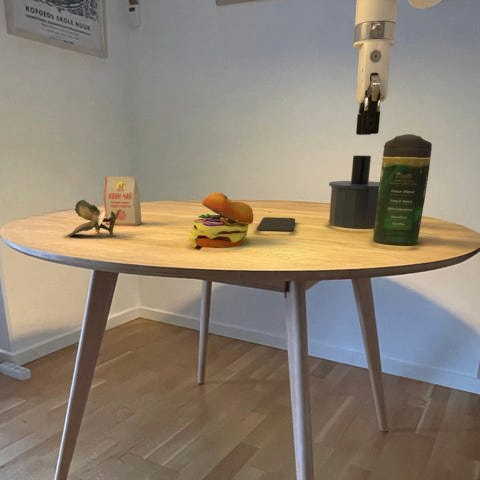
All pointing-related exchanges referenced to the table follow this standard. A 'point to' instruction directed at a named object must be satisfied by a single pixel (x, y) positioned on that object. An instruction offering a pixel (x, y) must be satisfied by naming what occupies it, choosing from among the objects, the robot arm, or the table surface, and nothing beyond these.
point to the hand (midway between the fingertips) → (366, 134)
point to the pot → (353, 208)
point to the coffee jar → (402, 190)
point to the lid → (358, 175)
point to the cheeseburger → (221, 223)
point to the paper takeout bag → (122, 200)
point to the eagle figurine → (93, 218)
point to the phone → (276, 224)
